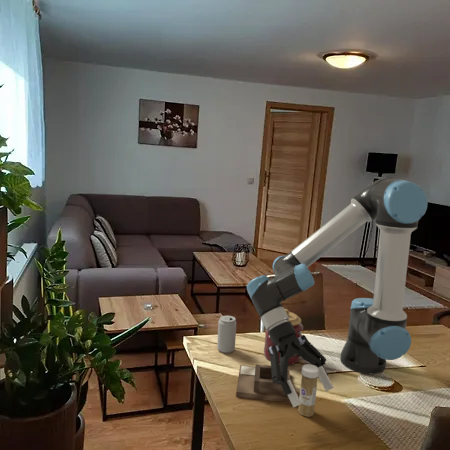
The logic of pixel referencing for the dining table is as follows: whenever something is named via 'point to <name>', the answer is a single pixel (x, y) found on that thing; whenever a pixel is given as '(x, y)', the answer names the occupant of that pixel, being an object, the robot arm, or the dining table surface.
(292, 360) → the canister
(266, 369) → the spice caddy
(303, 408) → the sprinkles bottle
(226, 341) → the beverage can
